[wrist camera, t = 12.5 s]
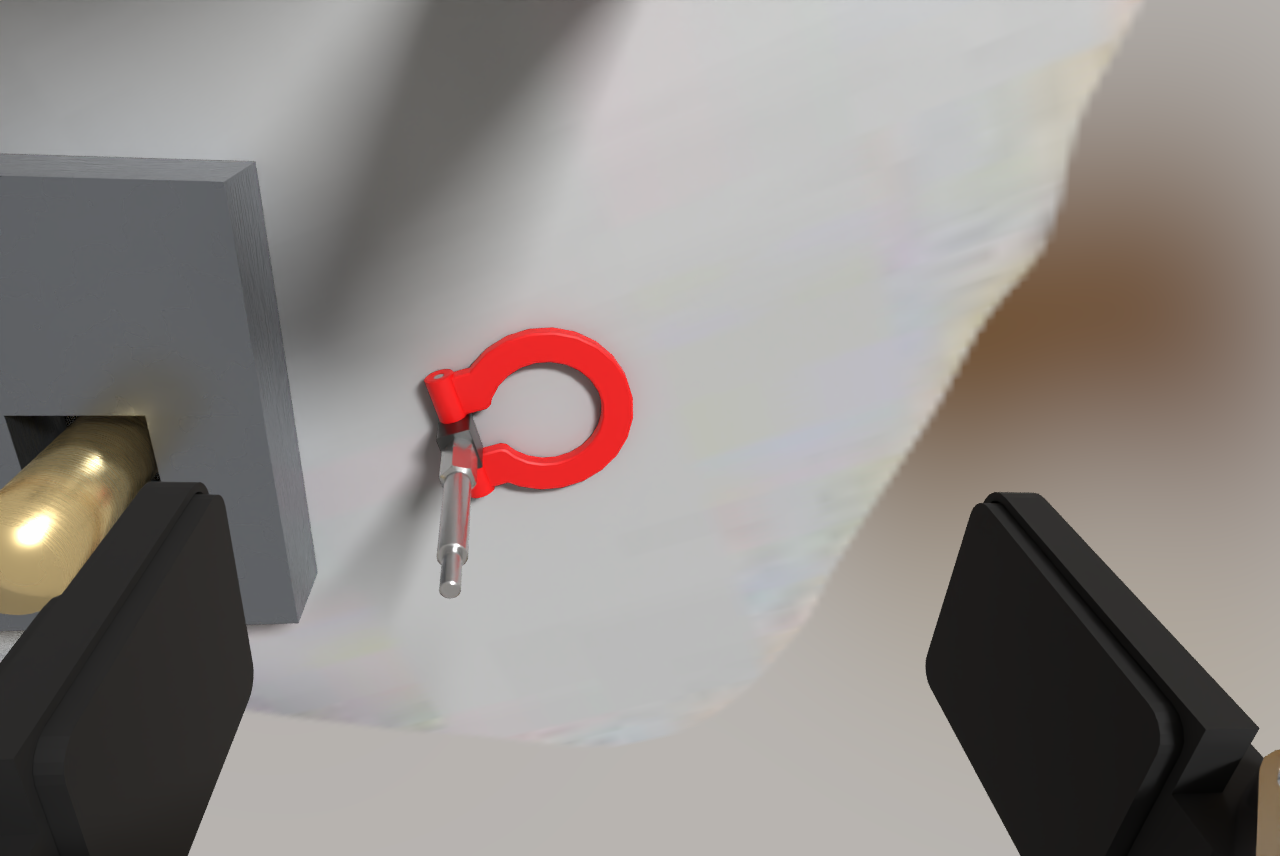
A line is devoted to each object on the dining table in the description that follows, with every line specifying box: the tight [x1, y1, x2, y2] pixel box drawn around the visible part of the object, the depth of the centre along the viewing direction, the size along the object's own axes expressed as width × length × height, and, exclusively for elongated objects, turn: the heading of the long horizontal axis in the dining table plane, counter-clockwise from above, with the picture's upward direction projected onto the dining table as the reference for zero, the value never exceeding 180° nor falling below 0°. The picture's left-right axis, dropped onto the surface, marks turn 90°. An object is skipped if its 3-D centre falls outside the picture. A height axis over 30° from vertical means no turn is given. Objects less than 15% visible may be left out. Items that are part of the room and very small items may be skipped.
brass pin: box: [0, 416, 158, 615], centre depth 36 cm, size 4×4×11 cm
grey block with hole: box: [0, 154, 317, 631], centre depth 38 cm, size 21×15×4 cm
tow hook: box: [424, 328, 633, 598], centre depth 37 cm, size 8×13×9 cm
